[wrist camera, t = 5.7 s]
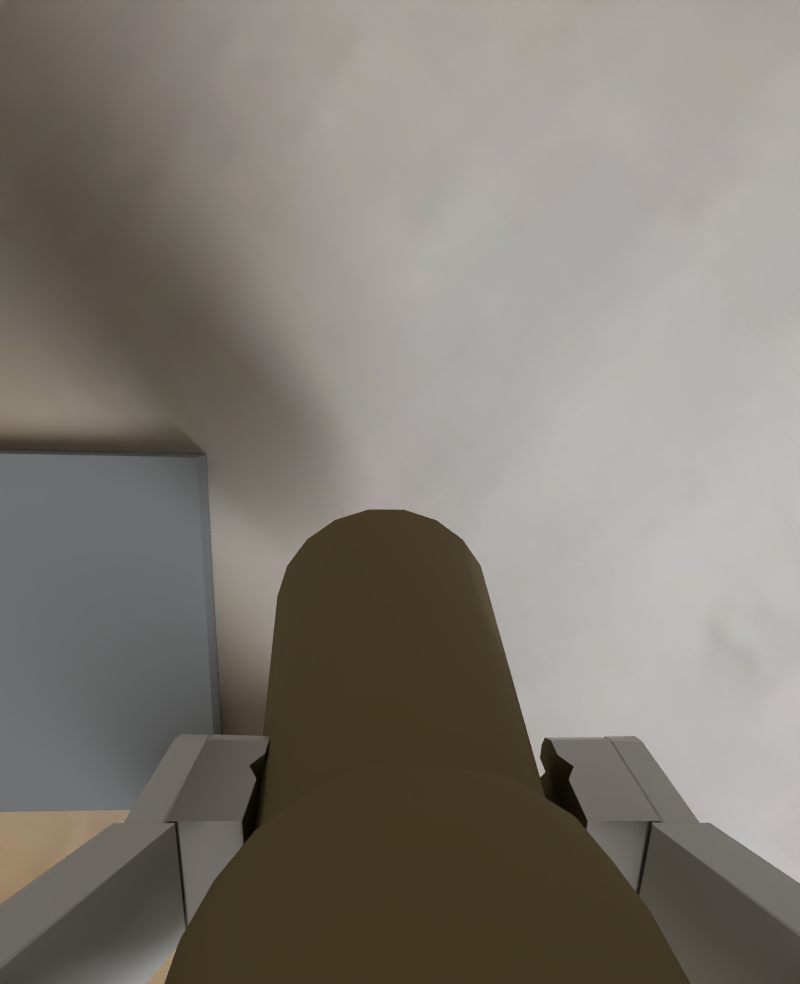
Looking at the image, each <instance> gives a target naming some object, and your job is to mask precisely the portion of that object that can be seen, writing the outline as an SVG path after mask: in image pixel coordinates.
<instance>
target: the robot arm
mask: <svg viewBox="0 0 800 984" xmlns="http://www.w3.org/2000/svg"><path fill="white" fill-rule="evenodd" d="M269 743H270V736H250V735H217V734H213V735H196V734H181V735H180V736H178V737H177V738H176V739H175V740H174V741H173V742H172V744H171V745H170V747H169V749H168V750H167V752H166V754H165V755H164V757H163V759H162V760H161V762H160V764H159V765H158V767H157V769H156V770H155V772H154V774H153V775H152V777H151V779H150V780H149V782H148V784H147V785H146V787H145V789H144V790H143V792H142V794H141V795H140V797H139V798H138V800H137V802H136V803H135V805H134V807H133V808H132V810H131V812H130V813H129V815H128V817H127V818H126V820H125V822H124V823H113V824H111V825H110V826H109V827H107V828H106V829H105V830H103V831H102V832H100V833H99V834H98V835H96V836H95V837H93V838H92V839H91V840H89V841H88V842H86V843H85V844H84V845H82V846H81V847H79V848H78V849H77V850H75V851H74V852H73V853H71V854H70V855H68V856H67V857H66V858H64V859H63V860H61V861H60V862H59V863H57V864H56V865H54V866H53V867H52V868H50V869H49V870H47V871H46V872H45V873H43V874H42V875H41V876H39V877H38V878H36V879H35V880H34V881H32V882H31V883H29V884H28V885H27V886H25V887H24V888H22V889H21V890H20V891H18V892H17V893H15V894H14V895H13V896H11V897H10V898H9V899H7V900H6V901H4V902H3V903H2V904H0V984H146V983H147V982H148V981H149V979H150V978H151V977H152V976H153V975H154V973H155V972H156V971H157V970H158V969H159V967H160V966H161V965H162V964H163V963H164V961H165V960H166V959H167V958H168V957H169V955H170V954H171V953H172V952H173V950H174V949H175V948H176V947H177V946H178V943H179V941H180V939H181V937H182V935H183V933H184V932H185V930H186V928H187V926H188V925H189V923H190V921H191V920H192V918H193V916H194V914H195V913H196V911H197V909H198V907H199V906H200V904H201V902H202V901H203V899H204V897H205V895H206V894H207V892H208V890H209V888H210V887H211V885H212V883H213V882H214V880H215V879H216V877H217V876H218V875H219V874H220V873H221V871H222V870H223V869H224V868H225V866H226V865H227V864H228V863H229V862H230V860H231V859H232V858H233V857H234V855H235V854H236V853H237V852H238V851H239V849H240V848H241V847H242V846H243V845H244V843H245V842H246V841H247V840H248V838H249V837H250V836H251V835H252V834H253V831H254V825H255V820H256V814H257V809H258V798H257V794H258V791H259V787H260V783H261V780H262V776H263V773H264V769H265V765H266V760H267V754H268V748H269ZM540 759H541V761H542V764H543V767H544V769H545V773H544V774H543V775H542V777H541V778H540V780H541V784H542V787H543V791H544V794H545V798H546V799H548V800H549V801H551V802H553V803H554V804H556V805H557V806H559V807H561V808H562V809H564V810H565V811H567V812H569V813H570V814H572V815H573V816H575V817H576V818H577V820H578V821H579V822H580V823H581V824H582V825H583V827H584V828H585V829H586V830H587V831H588V833H589V834H590V835H591V836H592V837H593V838H594V840H595V841H596V842H597V843H598V844H599V845H600V847H601V848H602V849H603V850H604V851H605V853H606V854H607V855H608V856H609V857H610V858H611V860H612V861H613V862H614V863H615V865H616V866H617V867H618V869H619V870H620V871H621V873H622V874H623V875H624V877H625V878H626V879H627V881H628V882H629V883H630V885H631V886H632V887H633V889H634V890H635V891H636V893H637V894H638V895H639V897H640V898H641V899H642V901H643V902H644V903H645V905H646V906H647V907H648V909H649V910H650V912H651V913H652V915H653V917H654V919H655V921H656V922H657V924H658V926H659V928H660V929H661V931H662V933H663V935H664V937H665V938H666V940H667V942H668V944H669V946H670V947H671V949H672V951H673V953H674V955H675V956H676V958H677V960H678V962H679V963H680V965H681V967H682V969H683V971H684V972H685V974H686V976H687V978H688V980H689V981H690V984H800V883H798V882H797V881H795V880H794V879H792V878H791V877H789V876H788V875H786V874H785V873H783V872H782V871H780V870H779V869H777V868H776V867H774V866H773V865H771V864H770V863H768V862H767V861H765V860H764V859H762V858H761V857H760V856H758V855H757V854H755V853H754V852H752V851H751V850H749V849H748V848H746V847H745V846H743V845H742V844H740V843H739V842H737V841H736V840H734V839H733V838H731V837H730V836H728V835H727V834H725V833H724V832H722V831H721V830H719V829H718V828H717V827H715V826H714V825H712V824H711V823H700V822H699V821H698V820H697V818H696V817H695V815H694V814H693V813H692V811H691V810H690V808H689V807H688V806H687V804H686V803H685V801H684V800H683V798H682V797H681V796H680V794H679V793H678V791H677V790H676V789H675V787H674V786H673V784H672V783H671V782H670V780H669V779H668V777H667V776H666V775H665V773H664V772H663V770H662V769H661V768H660V766H659V765H658V763H657V762H656V761H655V759H654V758H653V756H652V755H651V754H650V752H649V751H648V749H647V748H646V746H645V745H644V744H643V742H642V741H641V740H640V739H638V738H637V737H635V736H617V737H604V738H601V737H574V738H545V739H544V741H543V743H542V747H541V755H540Z"/></svg>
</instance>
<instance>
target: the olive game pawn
mask: <svg viewBox="0 0 800 984" xmlns="http://www.w3.org/2000/svg"><path fill="white" fill-rule="evenodd" d="M263 736H270V743H269V748H268V754H267V760H266V765H265V769H264V773H263V776H262V780H261V783H260V787H259V791H258V794H257V798H258V809H257V814H256V820H255V825H254V831H253V834H252V835H251V836H250V837H249V838H248V840H247V841H246V842H245V843H244V845H243V846H242V847H241V848H240V849H239V851H238V852H237V853H236V854H235V855H234V857H233V858H232V859H231V860H230V862H229V863H228V864H227V865H226V866H225V868H224V869H223V870H222V871H221V873H220V874H219V875H218V876H217V877H216V879H215V880H214V882H213V883H212V885H211V887H210V888H209V890H208V892H207V894H206V895H205V897H204V899H203V901H202V902H201V904H200V906H199V907H198V909H197V911H196V913H195V914H194V916H193V918H192V920H191V921H190V923H189V925H188V926H187V928H186V930H185V932H184V933H183V935H182V937H181V939H180V941H179V943H178V946H177V949H176V952H175V955H174V958H173V961H172V964H171V967H170V969H169V972H168V975H167V978H166V981H165V984H690V981H689V980H688V978H687V976H686V974H685V972H684V971H683V969H682V967H681V965H680V963H679V962H678V960H677V958H676V956H675V955H674V953H673V951H672V949H671V947H670V946H669V944H668V942H667V940H666V938H665V937H664V935H663V933H662V931H661V929H660V928H659V926H658V924H657V922H656V921H655V919H654V917H653V915H652V913H651V912H650V910H649V909H648V907H647V906H646V905H645V903H644V902H643V901H642V899H641V898H640V897H639V895H638V894H637V893H636V891H635V890H634V889H633V887H632V886H631V885H630V883H629V882H628V881H627V879H626V878H625V877H624V875H623V874H622V873H621V871H620V870H619V869H618V867H617V866H616V865H615V863H614V862H613V861H612V860H611V858H610V857H609V856H608V855H607V854H606V853H605V851H604V850H603V849H602V848H601V847H600V845H599V844H598V843H597V842H596V841H595V840H594V838H593V837H592V836H591V835H590V834H589V833H588V831H587V830H586V829H585V828H584V827H583V825H582V824H581V823H580V822H579V821H578V820H577V818H576V817H575V816H573V815H572V814H570V813H569V812H567V811H565V810H564V809H562V808H561V807H559V806H557V805H556V804H554V803H553V802H551V801H549V800H548V799H546V798H545V794H544V791H543V787H542V784H541V780H540V776H539V773H538V769H537V766H536V762H535V759H534V755H533V751H532V748H531V744H530V741H529V737H528V734H527V730H526V726H525V723H524V719H523V716H522V712H521V709H520V705H519V701H518V698H517V694H516V691H515V687H514V684H513V680H512V676H511V673H510V669H509V666H508V662H507V659H506V655H505V651H504V648H503V644H502V641H501V637H500V634H499V630H498V626H497V623H496V619H495V616H494V612H493V609H492V605H491V601H490V598H489V594H488V591H487V587H486V584H485V580H484V576H483V573H482V569H481V566H480V564H479V563H478V561H477V560H476V558H475V557H474V555H473V554H472V553H471V551H470V550H469V548H468V547H467V545H466V544H465V542H464V541H463V540H462V539H461V538H460V537H458V536H457V535H456V534H454V533H453V532H451V531H450V530H449V529H447V528H446V527H445V526H443V525H442V524H441V523H439V522H438V521H436V520H434V519H431V518H428V517H424V516H421V515H418V514H415V513H412V512H409V511H406V510H366V511H363V512H360V513H356V514H353V515H350V516H347V517H343V518H340V519H337V520H335V521H333V522H332V523H330V524H329V525H327V526H326V527H325V528H323V529H322V530H320V531H319V532H317V533H316V534H314V535H313V536H312V537H310V538H309V539H307V541H306V542H305V543H304V545H303V546H302V547H301V548H300V550H299V551H298V552H297V554H296V555H295V556H294V558H293V559H292V560H291V562H290V563H289V564H288V566H287V569H286V572H285V575H284V578H283V581H282V584H281V587H280V590H279V593H278V597H277V607H276V616H275V626H274V635H273V645H272V655H271V664H270V674H269V683H268V693H267V702H266V712H265V722H264V731H263Z"/></svg>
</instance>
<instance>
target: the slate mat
mask: <svg viewBox="0 0 800 984" xmlns="http://www.w3.org/2000/svg"><path fill="white" fill-rule="evenodd" d="M181 734H196V735H213V734H217V735H222V734H221V715H220V697H219V679H218V661H217V643H216V625H215V607H214V589H213V571H212V553H211V535H210V517H209V499H208V481H207V463H206V454H171V453H122V452H73V451H24V450H0V812H18V811H77V810H132V808H133V807H134V805H135V803H136V802H137V800H138V798H139V797H140V795H141V794H142V792H143V790H144V789H145V787H146V785H147V784H148V782H149V780H150V779H151V777H152V775H153V774H154V772H155V770H156V769H157V767H158V765H159V764H160V762H161V760H162V759H163V757H164V755H165V754H166V752H167V750H168V749H169V747H170V745H171V744H172V742H173V741H174V740H175V739H176V738H177V737H178V736H180V735H181Z"/></svg>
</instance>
